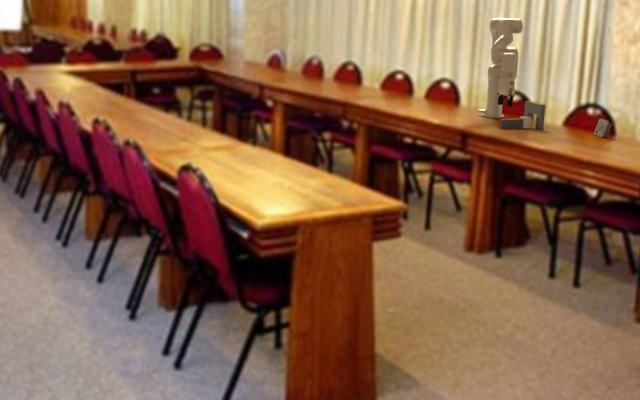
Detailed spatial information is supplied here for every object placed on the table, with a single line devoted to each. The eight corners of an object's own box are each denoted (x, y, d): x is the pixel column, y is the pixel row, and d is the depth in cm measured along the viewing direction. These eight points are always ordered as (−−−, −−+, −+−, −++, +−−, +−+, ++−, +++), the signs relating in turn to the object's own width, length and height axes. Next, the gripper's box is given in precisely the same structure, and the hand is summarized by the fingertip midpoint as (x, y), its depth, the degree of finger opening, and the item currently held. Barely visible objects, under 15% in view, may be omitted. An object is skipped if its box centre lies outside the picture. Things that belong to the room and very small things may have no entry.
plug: (502, 128, 489) (503, 118, 488) (498, 127, 494) (499, 117, 492) (531, 128, 496) (531, 117, 494) (526, 126, 500) (527, 116, 499)
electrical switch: (593, 134, 480) (596, 118, 478) (601, 135, 481) (605, 119, 479) (601, 137, 472) (604, 120, 469) (610, 138, 473) (613, 121, 470)
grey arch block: (538, 129, 491) (541, 105, 488) (523, 124, 506) (525, 101, 502) (543, 129, 492) (545, 104, 489) (527, 124, 507) (529, 100, 503)
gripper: (521, 76, 478) (519, 107, 482) (504, 73, 494) (502, 103, 498) (509, 76, 475) (507, 107, 479) (493, 73, 491) (491, 103, 495)
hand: (504, 105), depth 488 cm, fingers open, 9 cm apart
